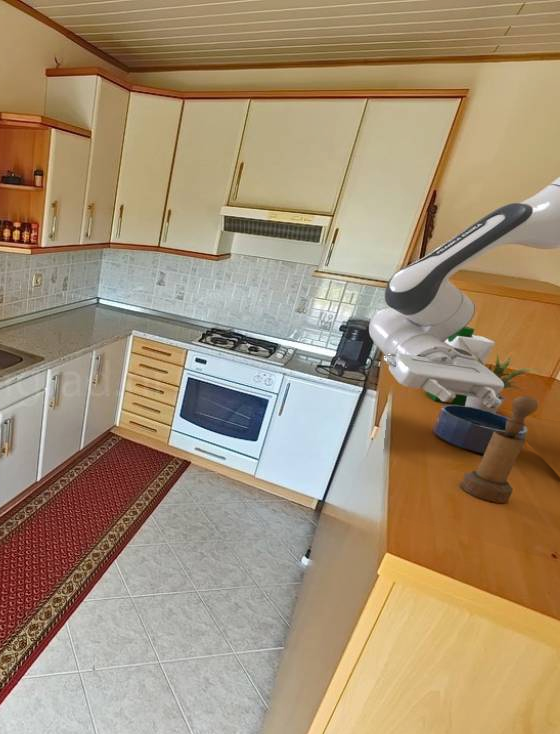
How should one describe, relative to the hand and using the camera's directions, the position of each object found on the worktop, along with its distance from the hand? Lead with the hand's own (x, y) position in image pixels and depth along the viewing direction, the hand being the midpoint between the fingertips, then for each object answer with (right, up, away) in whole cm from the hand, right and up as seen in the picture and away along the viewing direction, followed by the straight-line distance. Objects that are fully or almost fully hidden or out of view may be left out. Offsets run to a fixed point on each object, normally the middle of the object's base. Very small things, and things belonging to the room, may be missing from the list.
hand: (473, 402), depth 89 cm
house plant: (+29, -6, +32) cm, 43 cm away
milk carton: (+31, -1, +44) cm, 53 cm away
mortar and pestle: (-2, -16, -5) cm, 17 cm away
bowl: (+14, -9, +16) cm, 24 cm away
